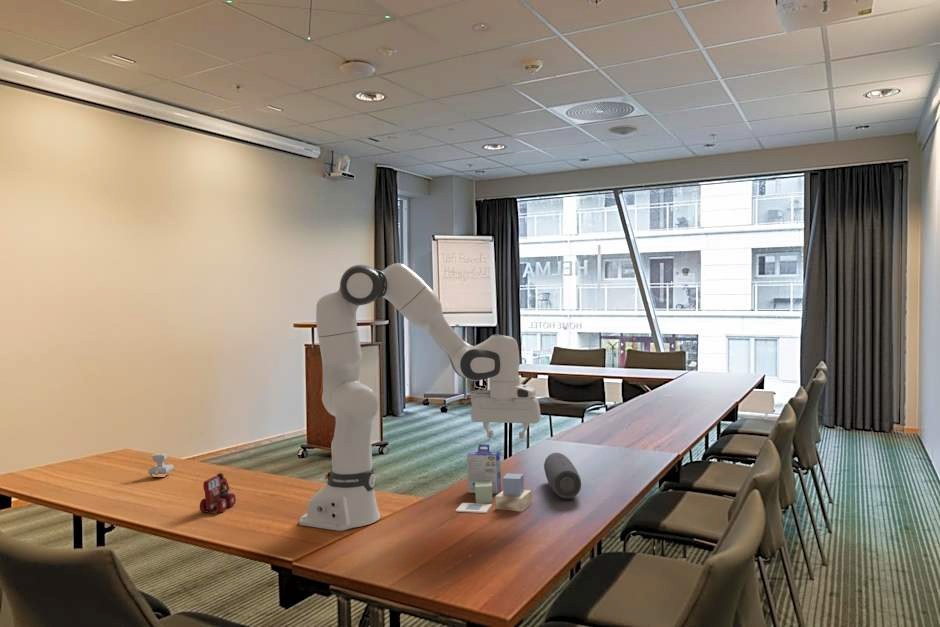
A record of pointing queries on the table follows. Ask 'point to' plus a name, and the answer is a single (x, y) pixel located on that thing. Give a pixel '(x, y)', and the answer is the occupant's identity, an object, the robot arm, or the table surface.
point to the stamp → (160, 465)
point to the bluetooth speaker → (562, 475)
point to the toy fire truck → (217, 494)
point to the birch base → (514, 501)
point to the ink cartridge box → (484, 468)
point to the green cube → (483, 492)
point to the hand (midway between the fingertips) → (506, 437)
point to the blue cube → (513, 484)
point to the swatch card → (474, 507)
